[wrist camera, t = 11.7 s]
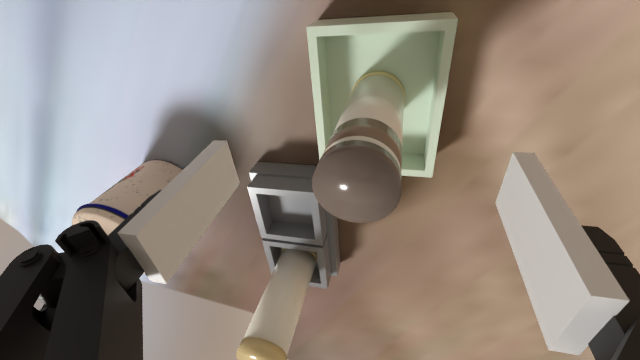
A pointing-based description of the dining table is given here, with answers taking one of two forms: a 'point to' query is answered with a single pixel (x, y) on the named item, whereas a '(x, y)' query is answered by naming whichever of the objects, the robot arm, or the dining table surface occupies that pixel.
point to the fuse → (279, 308)
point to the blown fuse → (364, 152)
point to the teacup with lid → (127, 195)
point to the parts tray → (392, 56)
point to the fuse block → (294, 217)
